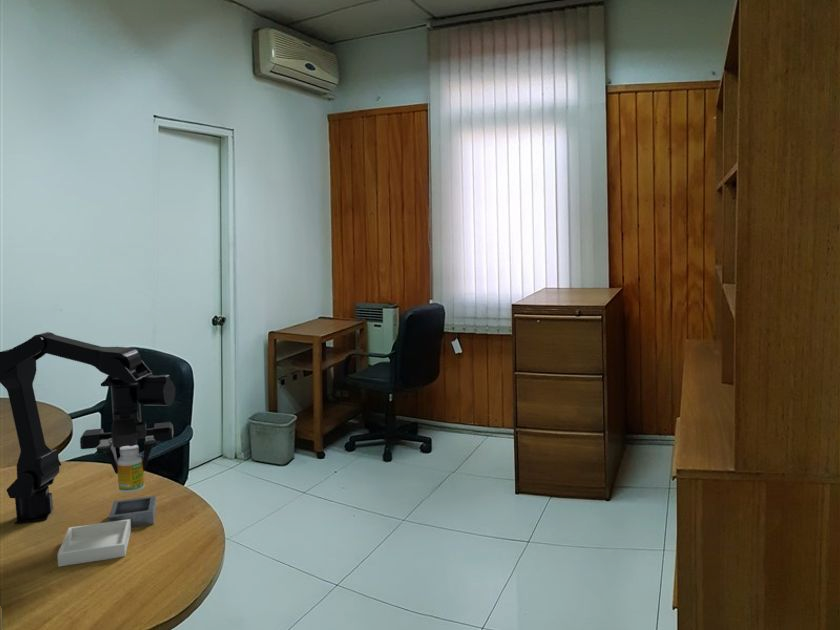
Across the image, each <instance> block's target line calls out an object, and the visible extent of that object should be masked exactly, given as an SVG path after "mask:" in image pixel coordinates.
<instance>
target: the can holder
mask: <svg viewBox="0 0 840 630" xmlns="http://www.w3.org/2000/svg"><path fill="white" fill-rule="evenodd" d="M156 511H157V500H156V495H153V496H152V495H150V496H145V497H144V496H143V497H142V496H141V497H135V498H128V499H120V500H113V503H112V506H111V509H110V512H109V516H108V522H113V521H120V520H127V519H130V521H131V528H136V527H142V526H143V527H144V526H149V525H151V526H152V525H154V524H155V518H156Z"/></svg>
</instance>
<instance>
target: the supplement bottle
mask: <svg viewBox="0 0 840 630" xmlns="http://www.w3.org/2000/svg"><path fill="white" fill-rule="evenodd" d="M119 455H120V456H119V457H117V469H118V474H117V480H118V481H117V482H118V484H117V485H118V490H119V492H121V493H125V494H126V493H129V494H130V493H135V492H139V491H141V490H142V489H143V488H145V485H146V483H145V470H143V457H144V456H142V454H140V447H139V445H138V444H136V445H134V446H121V447H119Z"/></svg>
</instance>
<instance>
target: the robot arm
mask: <svg viewBox="0 0 840 630" xmlns="http://www.w3.org/2000/svg"><path fill="white" fill-rule="evenodd" d="M46 354H47V355H51V356H55V357H59V358H63V359H67V360H71V361H73V362H78V363H82V364H86V365H90V366H92V367H95V369H97V370H98V371H99V372H100V373H102V374H104V375H107V377H106V378H105V379H104V380H103V381H102V382H101V383H100V387H110V394H111V395H110V396H111V408H112V420H113V421H112V424H111V428H110V429H111V431H110V432H104V428H95V429H86V430H84V432H83V433H82V435H81V436H80V439H79V444H80V445H79V446H80V449H81V450H90V449H95V450H96V452H102V453H104V455H105V456H106V458H107V459H108V460H109V463H110V465H111V467H112V469H113V471H114V473H115V474H116V475H118V469H117V460H118V457H117V450H116V449H117V448H118V449H120V448H121V447H123V446H134V445H138V440H141V439H144V438H145V439H144V443H143V456H142V457H143V470H144V471H146V470H147V469H146V468H147V465H148V461H149V457H150V454H151V452H152V449H153V447H154V446H157V445H158V444H159V442H167V441H172V440H173V439H174V425H173V423H172V422H171V421H167V422H157V423H154V426H153V427H150V428H147V422H146V421H145V420H144V421H143V420H142V411H141V404H142V405H143V406H152V407H153V406H159V407H160V406H163V407H166V406H167V407H169V406H172V404H173V403H174V401H175V398H176V387H175V384H174V382H173V381H172V380H171V377H170V375H169V374H160V375H154V373H153V371H152V370H151V369H150V368H149V367H148V366H147V364H146V363H145V362H144V361H143V360H142V356H141V355H140V353H139V351H138V350H137V349H135V348H133V347H127V346H126V347H125V346H100V345H97V344H93V343H90V342H85V341H81V340H76V339H72V338H69V337H67V336H66V337H65V336H61V335H58V334H55V333H53V332H49V331H48V332H42V333H39V334H35V335H33V336H32V337H30V338H29V339H28V340H26V341H25V342H22V343H20V344H18V345H16V346H15V347H12V348H9V349H5V350H2V351H0V384H1V386H3V387H4V389H6V392H7V396H8V399H9V405H10V408H11V412H12V418H13V423H14V427H15V431H16V435H17V440H18V444H19V445H18V446H19V449H20V453H19V456H18V459H17V463H16V479H15V480H14V481H13V482H12V483H11V484H10V485H9V487H8V488H6V493H7V495H8V497H9V499H14V503H15V513H16V519H15V520H14V524H15V525H17V524H23V523H24V524H25V523H31V522H37V521H45V520H48V518H49V516H50V514H52V512H53V510H54V505H53V504H54V503H53V502H54V501H53V500H54V499H53V493H52V492H50V489H49V486H51V485H52V484H54V480H55V478H56V477H57V475H58V474H59V473H60V467H61V466H62V463H61V461H60V458H59V451H58V449H50V448H49V446H47V444H46V441H45V437H44V433H43V427H42V423H41V418H40V413H39V409H38V405H37V400H36V395H35V389H34V385H33V383H34V381H35V378H36V374H37V361H38V360H39V359H41V358H43V357H45V356H46ZM135 372H136V373H135ZM133 373H134V374H133Z"/></svg>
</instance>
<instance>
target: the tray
mask: <svg viewBox="0 0 840 630" xmlns="http://www.w3.org/2000/svg"><path fill="white" fill-rule="evenodd" d="M131 532H132V527H131V521H130V519H127V520H120V521H113V522H109V521H107V522H99V523H92V524H85V525H78V526H71V527H70V526H69V527H68V528H67V532H66V534H65V536H64V538H63V541H62V543H61V545H60V546H59V550H58V552H57V556H56V557H57V565H58V566H57V567H58V568H59V567H65V566H71V565H78V564H84V563H91V562H97V561H105V560H111V559H117V558H124V557H126V554H127V549H128V546H129V541H130V537H131Z"/></svg>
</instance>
